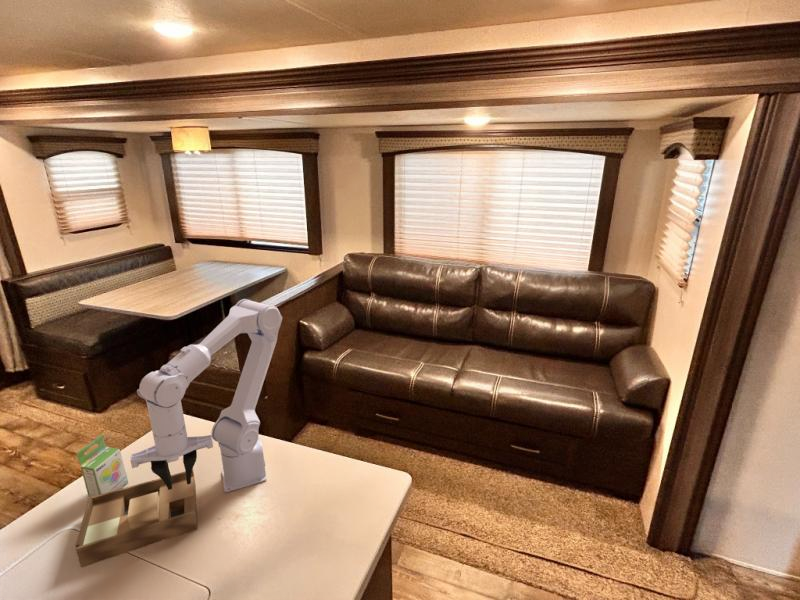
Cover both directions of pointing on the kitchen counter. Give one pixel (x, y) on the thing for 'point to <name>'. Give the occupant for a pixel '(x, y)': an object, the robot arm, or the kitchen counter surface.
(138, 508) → the maple block
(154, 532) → the box
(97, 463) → the ink box
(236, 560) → the kitchen counter surface
